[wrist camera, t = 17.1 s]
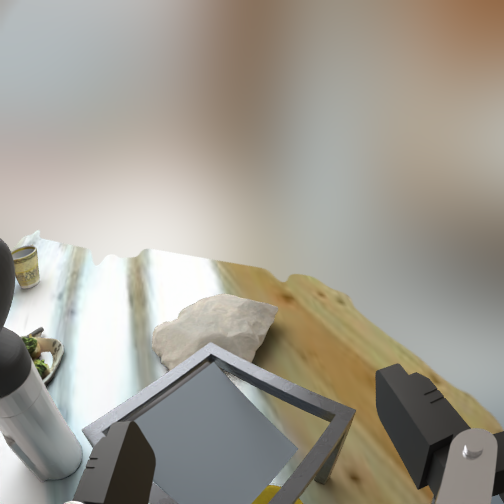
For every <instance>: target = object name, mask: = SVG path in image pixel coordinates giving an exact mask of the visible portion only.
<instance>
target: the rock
mask: <svg viewBox="0 0 504 504" xmlns="http://www.w3.org/2000/svg"><path fill="white" fill-rule="evenodd" d="M277 311H278V307H276V306H272V305H270V304H268V303H263V302H257V301H253V300H250V299H244V298H239V297H237V296H234V295H229V294H219V295H216V296H212V297H209V298H203V299H201V300H199V301H198V302H196V303H194V304H192V305H190V306H188V307H186V308H184V309H183V310H182V311H181V312H180V313H179V316H178V319H176V320H174V321H171V322H164V323H162V324H161V325H159V326H157V327H156V328H155V329H154V331H153V338H152V349H153V351H154V352H155V353H156V354H157V355H158V356H159V357H161V364H163V365H165V366H166V367H167V368H168V369H169V371H170V370H172V369H173V368H175V367H176V366H178V365H179V364H180V363H182V362H183V361H185V360H186V359H188V358H189V357H190V356H192V355H193V354H195V353H196V352H197V351H199V350H200V349H202V348H203V347H204V346H206V345H207V344H209V343H210V342H211V343H213V344H215V345H217V346H219V347H221V348H222V349H224V350H226V351H228V352H230V353H232V354H234V355H236V356H238V357H240V358H242V359H244V360H246V361H248V362H250V363H252V360H253V358H254V356H255V351H256V350H257V349H258V348H259V347H260V346H261V345H262V343H263V341H264V339H265V336H266V333H267V331H268V329H269V327H270V325H271V324H272V323H273V322H274V317H275V315H276V313H277Z"/></svg>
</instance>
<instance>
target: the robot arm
mask: <svg viewBox="0 0 504 504" xmlns="http://www.w3.org/2000/svg"><path fill="white" fill-rule="evenodd" d="M14 288H15V266H14V260H13V256H12V254H11V251H10V249H9V247H8V246H7V244H6V243H4V241H3V240H2V239H0V431H1V432H2V434H3V436H4V438H5V440H6V442H7V444H8V446H9V447H10V448H11V449H12V450H13V452H14V453H15V454H16V455H17V456H18V457H19V458H20V460H21V461H22V462H23V463H24V464H25V465H26V466H27V467H28V468H29V469H30V470H31V472H32V473H33V474H34V475H35V476H36V477H37V478H38V479H39V480H40V481H41V482H43V481H45V480H47V479H52V480H57V479H63V478H65V477H68V476H69V475H71V474H72V473H73V472H74V471H75V470H76V469H77V468H78V466H79V465H80V462H81V460H82V448H81V445H80V443H79V442H78V440H77V439H76V437H75V435H74V433H73V432H72V431H71V429H70V428H69V426H68V424H67V423H66V421H65V420H64V418H63V416H62V415H61V413H60V411H59V410H58V408H57V406H56V404H55V403H54V401H53V399H52V397H51V396H50V394H49V392H48V390H47V388H46V386H45V384H44V383H43V381H42V379H41V377H40V375H39V373H38V371H37V369H36V367H35V365H34V363H33V361H32V358H31V356H30V354H29V352H28V350H27V348H26V346H25V344H24V342H23V340H22V339H21V338H20V337H19V336H18V335H17V334H16V333H14V332H13V331H11V330H9V329H7V328H5V327H3V326H4V323H5V321H6V318H7V316H8V313H9V310H10V307H11V303H12V299H13V294H14ZM376 408H377V412H378V416H379V418H380V421H381V422H382V424H383V426H384V428H385V430H386V431H387V433H388V435H389V437H390V439H391V441H392V442H393V444H394V446H395V448H396V450H397V452H398V453H399V455H400V457H401V459H402V461H403V463H404V465H405V466H406V468H407V470H408V472H409V474H410V476H411V478H412V479H413V481H414V483H415V485H416V487H417V489H418V490H419V489H421V488H423V487H425V486H427V485H429V487H430V489H431V491H432V492H433V494H434V495H433V498H432V501H431V504H490V503H491V497H492V496H495V495H498V494H499V496H500V497H501V499H502V501H503V502H504V431H503V432H500V433H496V434H491V433H490V432H488V431H487V430H484V429H478V428H474V429H471V428H470V427H469V426H468V425H467V424H466V422H465V421H464V420H463V419H462V417H461V416H460V415H459V414H458V413H457V411H456V410H455V409H454V408H453V407H452V405H451V404H450V403H449V402H448V401H447V399H446V398H444V396H443V395H442V393H441V392H440V391H439V390H437V388H436V386H435V385H434V384H433V383H432V382H431V380H430V379H429V378H427V377H425V376H423V375H421V374H419V373H417V372H416V373H413V374H411V375H408V374H407V373H406V371H405V370H404V369H403V368H402V366H401V365H400V364H398V363H397V364H394V365H391V366H389V367H386V368H383V369H380V370H377V371H376ZM89 458H90V460H88V462H87V465H86V469H85V470H84V472H83V475H82V477H81V480H80V482H79V485H78V487H77V490H76V493H75V495H74V498H73V500H72V501H69V502H66V503H63V504H148V503H149V497H150V492H151V487H152V482H153V477H154V472H155V467H156V458H155V453H154V451H153V449H152V447H151V446H150V444H149V442H148V441H147V439H146V438H145V436H144V434H143V433H142V431H141V429H140V428H139V426H138V424H137V423H136V422H134V421H126V422H113V423H112V424H111V426H110V429H109V431H108V434H107V436H106V437H102V438H101V439H100V440H99V441H98V443H97V444H96V445H95V446H94V447H93V450H92V452H91V455H90V457H89Z"/></svg>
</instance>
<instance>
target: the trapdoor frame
mask: <svg viewBox="0 0 504 504" xmlns="http://www.w3.org/2000/svg"><path fill="white" fill-rule="evenodd" d="M206 362H209V363H210V364H211V363H213V362H214V363H215V364H216V365H217V366H218V367H219V368H220V369H221V371H222V369H224V370H225V371H227V372H229V373H231V374H233V375H235V376H236V377H238V378H240V379H242V380H244V381H246V382H248V383H250V384H251V385H253V386H255V387H257V388H259V389H261V390H263V391H265V392H267V393H269V394H271V395H273V396H275V397H277V398H279V399H281V400H283V401H285V402H287V403H289V404H291V405H294V406H296V407H298V408H300V409H302V410H304V411H306V412H309V413H311V414H313V415H315V416H317V417H320V418H322V419H324V420H326V421H329V422H331V423H330V424H329V426H328V427H327V429H326V430H325V431H324V433H323V434H322V436H321V437H320V438H319V440H318V441H317V443H316V444H315V445H314V447H313V448H312V449H311V451H310V452H309V453H308V455H307V456H306V457H305V459H304V460H303V461H302V462H301V464H300V465H299V466H298V468H297V469H296V470H295V471H294V473H293V474H292V475H291V476H290V478H289V479H288V480H287V481H286V483H285V484H284V485H283V486H282V487H281V489H280V490H279V491H278V492H277V493H276V494H275V496H274V497H273V498H272V499H271V500H270V501H269V503H268V504H294V503H295V502H296V501H297V500H298V498H299V497H300V496H301V494H302V493H303V492H304V490H305V489H306V488H307V487H308V485H309V484H310V482H311V481H312V480H313V478H314V477H315V476H316V477H315V479H314V480H315V481H317V482H319V483H322V484H325V483H326V481H327V480H328V478H329V477H330V475H331V473H332V470H333V468H334V466H335V463H336V461H337V459H338V456H339V454H340V451H341V449H342V447H343V444H344V442H345V439H346V436H347V434H348V431H349V429H350V426H351V423H352V420H353V418H354V415H355V412H356V410H355V409H352V408H350V407H347V406H345V405H342V404H340V403H338V402H335V401H333V400H330V399H328V398H326V397H323V396H321V395H319V394H316V393H314V392H312V391H310V390H307V389H305V388H303V387H301V386H298V385H296V384H294V383H292V382H290V381H287V380H285V379H283V378H281V377H279V376H277V375H275V374H272V373H270V372H268V371H266V370H264V369H262V368H260V367H258V366H256V365H254V364H252V363H250V362H248V361H246V360H244V359H242V358H240V357H238V356H236V355H234V354H232V353H230V352H228V351H226V350H224V349H222V348H221V347H219V346H217V345H215V344H213V343H211V342H210V343H209V344H207V345H206V346H204V347H203V348H202V349H200V350H199V351H197V352H196V353H195V354H193V355H192V356H190V357H189V358H188V359H186V360H185V361H183V362H182V363H180V364H179V365H178V366H176V367H175V368H173V369H172V370H170V371H169V372H168V373H166V374H165V375H163V376H162V377H160V378H159V379H157V380H156V381H155V382H153V383H152V384H150V385H149V386H147V387H146V388H144V389H143V390H141V391H140V392H138V393H137V394H135V395H134V396H132V397H131V398H130V399H128V400H127V401H125V402H124V403H122V404H120V405H119V406H117V407H116V408H114V409H113V410H111V411H110V412H108V413H107V414H105V415H104V416H102V417H101V418H99V419H98V420H96V421H95V422H93V423H91V424H90V425H88V426H87V427H85V428H84V429H82V432H83V433H84V435H85V436H86V438H87V440H88V441H89V443H90V444H91V446H92V447H94V446H95V445H96V444H97V443H98V441H99V440H100V439H101V438H102V437H106V436H107V434H108V431H109V429H110V426H111V424H112V423H113V422H124V421H126V420H127V419H129V418H130V417H132V416H133V415H135V414H136V413H137V412H139V411H140V410H142V409H143V408H145V407H146V406H147V405H149V404H150V403H152V402H153V401H154V400H156V399H157V398H159V397H160V396H161V395H163V394H164V393H166V392H167V391H168V390H170V389H171V388H172V387H174V386H175V385H176V384H178V383H179V382H181V381H182V380H183V379H185V378H186V377H187V376H189V375H190V374H191V373H193V372H194V371H195V370H197V369H198V368H199V367H201V366H202V365H203V364H205V363H206ZM149 503H150V504H178V503H177V502H176V501H175V500H173V499H172V498H171V497H170V496H169V495H167V494H166V493H165V492H164V491H163V490H161V489H160V488H159V487H158V486H157V485H156V484H154V483H153V482H152V487H151V492H150V497H149Z"/></svg>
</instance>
